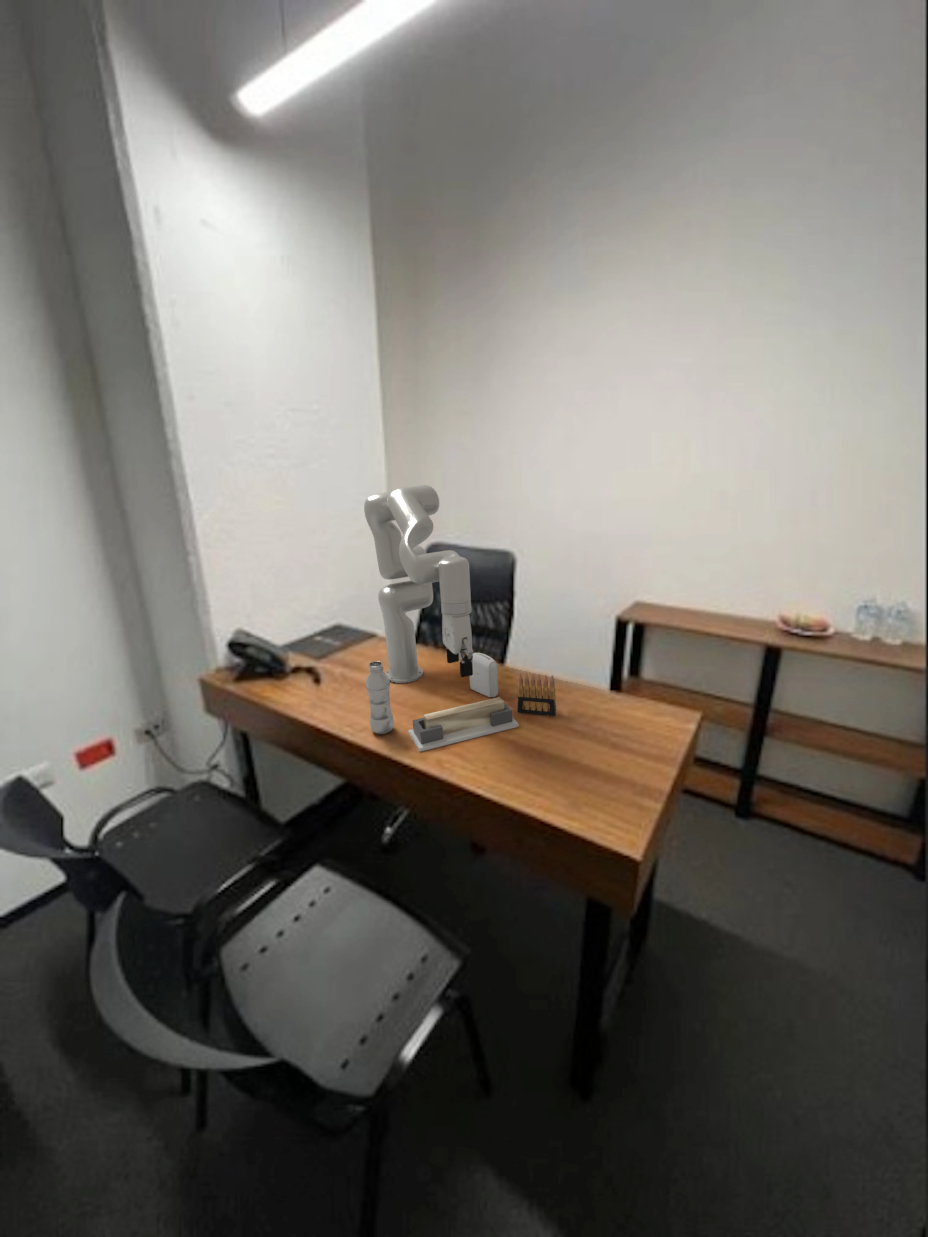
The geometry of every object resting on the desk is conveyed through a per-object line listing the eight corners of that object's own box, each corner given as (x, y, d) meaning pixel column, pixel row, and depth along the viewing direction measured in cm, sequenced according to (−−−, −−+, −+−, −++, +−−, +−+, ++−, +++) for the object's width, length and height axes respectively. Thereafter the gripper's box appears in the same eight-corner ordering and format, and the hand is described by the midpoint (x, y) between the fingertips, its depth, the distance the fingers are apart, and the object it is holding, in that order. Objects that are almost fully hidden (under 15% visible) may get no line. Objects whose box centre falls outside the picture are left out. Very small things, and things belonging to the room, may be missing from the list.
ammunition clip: (517, 712, 161) (516, 674, 157) (518, 709, 162) (517, 671, 158) (555, 716, 158) (555, 677, 154) (556, 713, 159) (556, 674, 155)
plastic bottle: (389, 722, 159) (382, 656, 153) (398, 732, 154) (391, 665, 147) (367, 729, 156) (359, 662, 150) (376, 739, 151) (368, 671, 144)
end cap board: (408, 733, 153) (407, 718, 152) (502, 710, 162) (502, 696, 161) (419, 751, 144) (418, 736, 143) (518, 726, 153) (518, 711, 152)
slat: (425, 733, 151) (423, 714, 149) (500, 714, 158) (499, 697, 156) (428, 738, 148) (427, 719, 146) (504, 719, 155) (504, 701, 154)
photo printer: (467, 688, 177) (465, 652, 173) (478, 684, 179) (476, 648, 175) (490, 699, 169) (488, 661, 165) (500, 694, 172) (499, 657, 168)
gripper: (431, 599, 148) (435, 659, 154) (454, 619, 133) (458, 685, 138) (457, 595, 150) (461, 654, 156) (483, 613, 135) (486, 678, 141)
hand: (459, 668), depth 147 cm, fingers open, 9 cm apart
